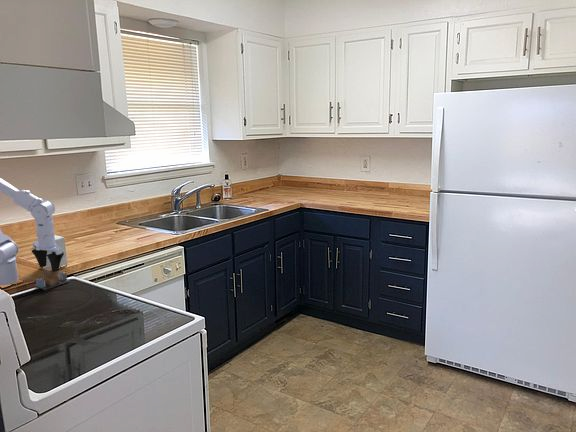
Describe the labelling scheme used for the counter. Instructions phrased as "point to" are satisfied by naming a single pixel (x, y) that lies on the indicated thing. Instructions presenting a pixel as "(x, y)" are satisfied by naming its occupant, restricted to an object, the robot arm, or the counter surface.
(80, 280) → the counter surface
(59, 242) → the supplement box
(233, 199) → the counter surface
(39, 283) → the vise jaw
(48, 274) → the walnut block
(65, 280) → the vise frame
